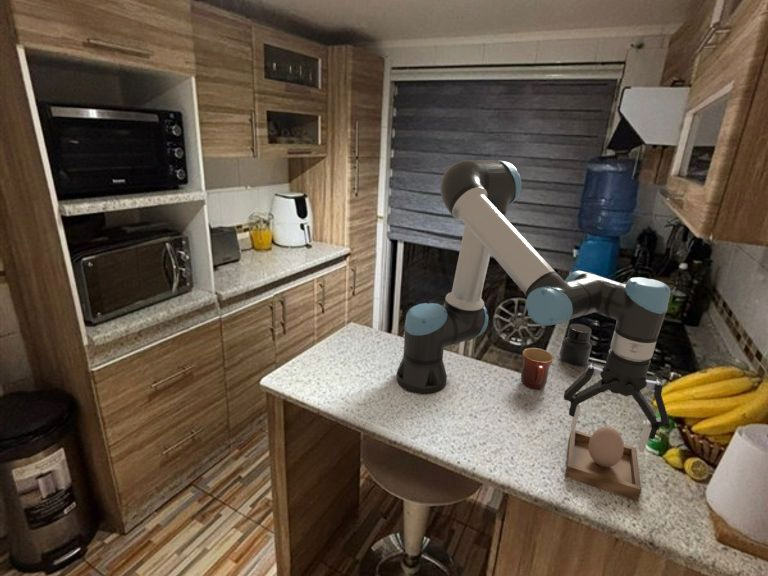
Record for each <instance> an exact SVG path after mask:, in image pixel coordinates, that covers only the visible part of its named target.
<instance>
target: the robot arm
mask: <svg viewBox="0 0 768 576" xmlns="http://www.w3.org/2000/svg"><path fill="white" fill-rule="evenodd" d="M439 189H440V195H441V196H440V197H441V200H442V202H443V204H444V206H445V208H446V210H447V211H448V212H449V213H450V214H451V216H452V217H453V218H454V219H455V220H457V221H462V222H463V223H464V228H463V232H462V233H463V234H462V238H461V243H460V249H459V253H458V254H459V255H458V258H457V263H456V267H455V268H456V269H455V274H454V279H453V284H452V289H451V292H448V293H447V294H446V295H445V299H444V303H443V305H441V304H439V303H436V302H435V303H434V302H429V303H427V302H423V303H419V304H416V305H414V306H412V307H410V308H409V309H408V311H407V312H406V316H405V322H404V342H403V356H402V359H401V361H400V363H399V365H398V368H397V370H396V377H395V378H396V383H397V384H398V386H399V387H400V388H402V389H403V390H405V391H407V392H409V393H411V394H412V393H413V394H418V395H431V394H432V395H433V394H437V393H440V392H441V391H442V390H444V389H445V388H446V386H447V381H448V380H447V379H448V377H447V371H446V368H445V367H446V366H445V364H444V363H445V362H444V360H443V358H444V348H446V347H449V346H452V345H456V344H459V343H463V342H467V341H471V340H474V339H475V338H477V337H480V336H482V335H483V334H484V333H485V331H486V330H487V327H488V324H489V314H487V313H488V310H487V308H486V306H485V301H484V299H482V293H483V288H484V283H485V280H486V275H487V273H488V272H487V271H488V267H489V263H490V258H491V256H492V258H494V259H495V260H496V262H497V263H498V265H499V266H501V268H502V269H503V270H504V271H505V272H506V274H507V275H508V277H510V279H512V281H513V282H514V283H515V284H516V286H517V287H518V288H519V289H520V290H521V291H522V292H523V294H524V295H525V296H526V300H525V308H526V309H527V312H528V316H529V318H530V319H531V320H532V321H533V322H535V323H536V324H538V325H540V326H546V327H547V326H553V325H560V324H563V323H565V322H568V321H570V320H573V319H576V318H580V317H583V316H586V315H589V314H592V313H595V314H598V315H600V316H604V317H607V318H609V319H612V320H615V321H616V323H615V327H614V331H613V335H612V338H611V341H610V346H609V347H610V349H609V350H608V352H607V357H606V361H605V364H604V366H603V367H602V368H600V367H598V366H595V365H594V363H591V362H590V363H589V362H588V363H587V366H586V369H585V371H584V372H583V373H581V375H580V376H579V377H577V379H576V380H575V381H573V383H572V384H571V385H569V386H568V387H567V389H565V390H564V392H563V399H564V400H565V401H568V402H569V403H570V406H569V409H568V415H569V416H570V417H572V421H571V427H570V432H571V431H573V432H574V431H575V430H576V427H577V423H578V419H579V415H580V412H581V408H582V407H581V404H582V403H584V402H585V401H587V400H589V399H591V398H593V397H595V396H597V395H599V394H601V393H605V392H607V391H610V393H612V394H617V395H618V394H620V395H621V396H624V397H627V398H628V396H629V397H630V396H632V398H633V399H634V401H635V402H636V403H637V405H638V406H639V407H640V409H641V411H642V412H643V414H644V416H645V417H646V418H647V419H646V420H645V422H644V426H643V429H642V432H641V435H640V438H639V441H638V451H639V453H643V454H644V453H645V449H646V447H647V445H648V444H647V443H648V441H649V439H650V440H654V439H655V438H656V434H657V433H658V431H659V430H660V428H661V427H662V428H664V429H669V428H671V424H670V419H669V416H668V413H667V410H666V409H667V408H666V407H665V403H664V400H663V396H662V392H663V385H662V381H661V379H658V378H656V379H654V380H650V379H647V375H648V371H649V368H650V365H651V359H652V357H653V355H654V351H655V348H656V345H657V341H658V338H659V335H660V331H661V328H662V325H663V323H664V319H665V316H666V313H667V312H668V309H669V308H668V305H669V303H670V297H671V288H670V286H669V285H667V284H666V283H664V282H663V281H661V280H657V279H654V278H653V279H652V278H647V277H639V276H638V277H631V278H629V279H628V280H627V282H626V283H622V282H619V281H617V280H614V279H610V278H607V277H603V276H600V275H599V274H598V275H597V274H595V273H593V272H587V271H583V270H575V271H572V272H571V274H570V275H568V276H566V279H563V277H561V276H560V275H559V274H558V273H557V272H556V271H555V269H554V268H553V267H552V266H551V265H550V264H549V263H548V262H547V261H546V260H545V259H544V258H543V256H541V254H539V252H538V251H537V250H536V249H535V248H534V247H533V246H532V245H531V244H530V243H529V242H528V240H527V239H526V238H525V237H524V236H523V235H522V234H521V233H520V232H519V231H518V229H517V228H515V226H514V225H513V224H512V223H511V222H510V221H509V219H507V218H506V215H507V211H508V206H510V205H512V204H513V203H514V202H515V201H517V199H518V198H519V196H520V194H521V193H522V192H521V191H522V179H521V175H520V173H519V171H518V169H517V168H516V166H515V165H513V164H512V163H511V162H508V161H506V160H500V159H479V160H477V159H474V160H473V159H463V160H459V161H457V162H455V163H453V164H451V166H449V167H448V168H447V169H446V171H445V172H444V173H443V175H442V178H441V181H440V188H439ZM599 375H600V378H601V379H599V380H598V381H597V382H596V383H594V384H591V385H590V386H588V387H586V388H584V389H582V388H583V387H584V386H585V385H586V384H587V383H588V382H589V381H590V380H591V379H592V378H595V377H596V376H599ZM646 387H648V389H649V391H650V392H651V393H653V396H654V400H655V403H656V405H657V410H658V412H659V417H657V415H656V413H655V412H654V411H653V408H652V407H651V406H650V404H649V403H648V401H647V400H646V398H645V397H644V395H643V393H642V391H641V390H643V389H645V388H646ZM581 389H582V390H581Z"/></svg>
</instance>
